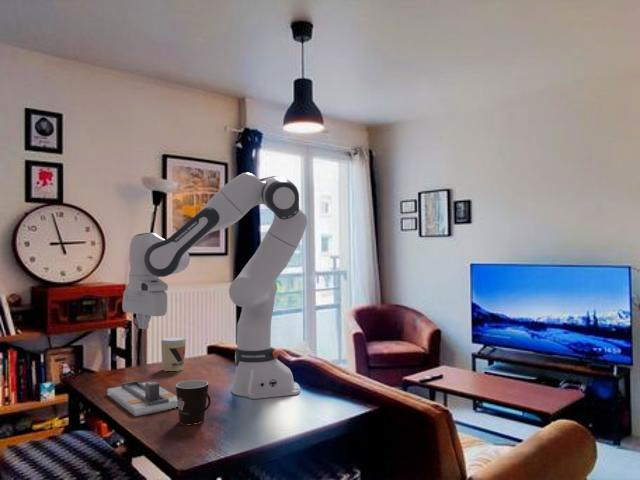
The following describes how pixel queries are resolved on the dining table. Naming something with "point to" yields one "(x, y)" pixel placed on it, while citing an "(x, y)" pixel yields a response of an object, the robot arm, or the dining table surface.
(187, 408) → the coffee mug
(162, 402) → the console
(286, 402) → the dining table surface
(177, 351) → the coffee cup
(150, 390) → the fader knob
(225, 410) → the dining table surface
